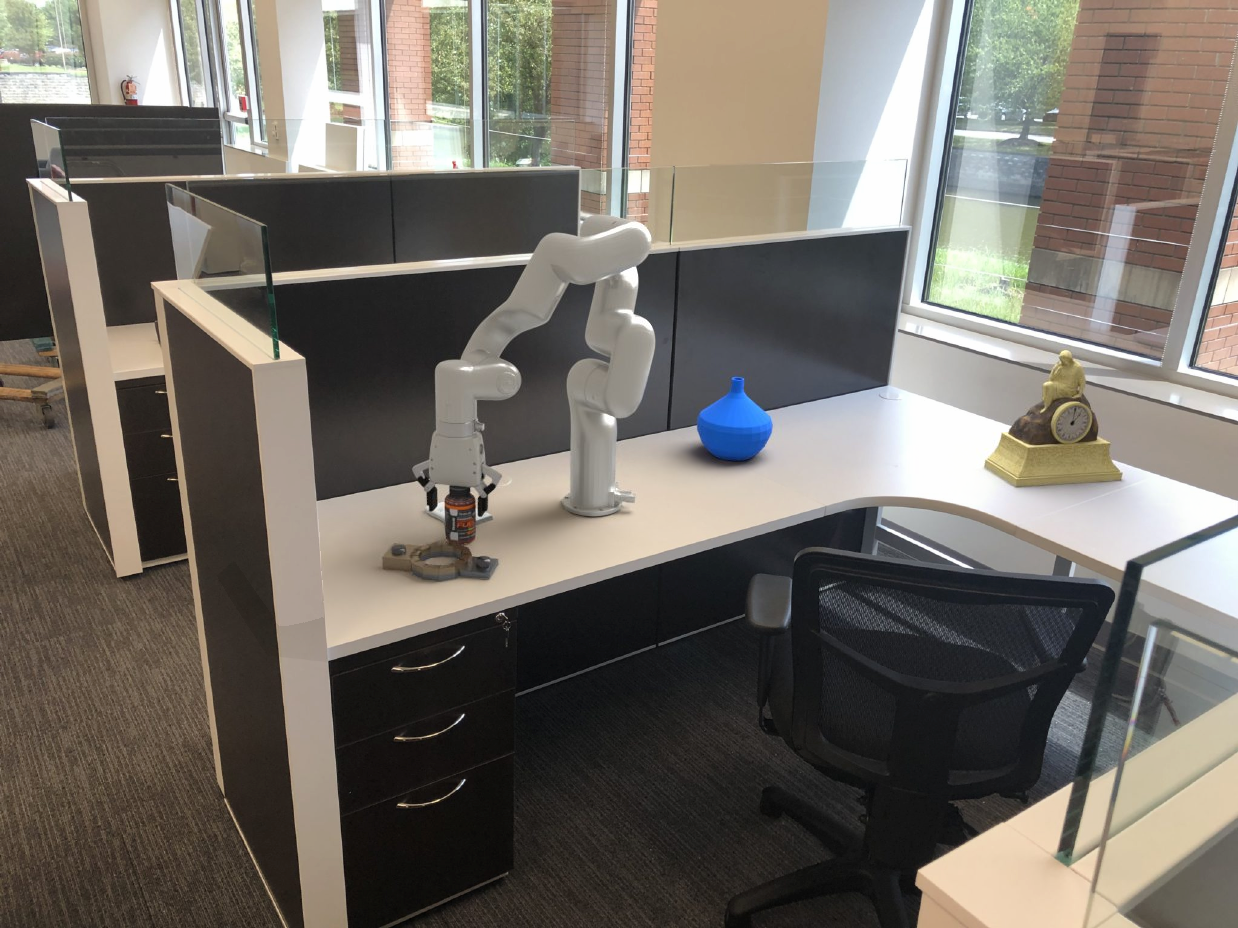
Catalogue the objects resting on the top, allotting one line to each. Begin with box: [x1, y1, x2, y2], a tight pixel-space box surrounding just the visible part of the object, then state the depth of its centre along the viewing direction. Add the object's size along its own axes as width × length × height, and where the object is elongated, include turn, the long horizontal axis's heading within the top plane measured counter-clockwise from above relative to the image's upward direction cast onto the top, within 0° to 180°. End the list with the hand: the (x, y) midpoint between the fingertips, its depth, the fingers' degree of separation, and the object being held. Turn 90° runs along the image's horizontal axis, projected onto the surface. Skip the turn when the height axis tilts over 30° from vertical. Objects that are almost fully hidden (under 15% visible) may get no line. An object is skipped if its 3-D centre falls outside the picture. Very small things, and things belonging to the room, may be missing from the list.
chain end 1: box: [381, 541, 473, 575], centre depth 177 cm, size 16×11×3 cm
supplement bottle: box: [443, 485, 477, 545], centre depth 187 cm, size 6×6×11 cm
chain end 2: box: [410, 551, 499, 582], centre depth 177 cm, size 16×11×2 cm
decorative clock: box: [983, 350, 1123, 488], centre depth 227 cm, size 28×13×30 cm, turn 102°
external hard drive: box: [424, 501, 494, 526], centre depth 199 cm, size 2×8×12 cm
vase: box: [696, 376, 774, 461], centre depth 235 cm, size 18×18×19 cm
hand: (457, 511), depth 186 cm, fingers open, 9 cm apart
